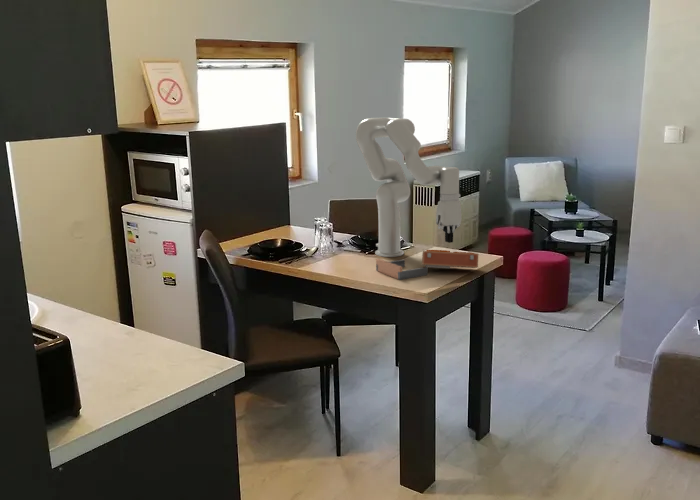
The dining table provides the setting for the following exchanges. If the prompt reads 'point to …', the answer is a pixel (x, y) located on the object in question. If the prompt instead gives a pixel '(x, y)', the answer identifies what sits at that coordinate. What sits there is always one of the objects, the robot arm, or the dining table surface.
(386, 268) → the docking guide
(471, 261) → the control panel
